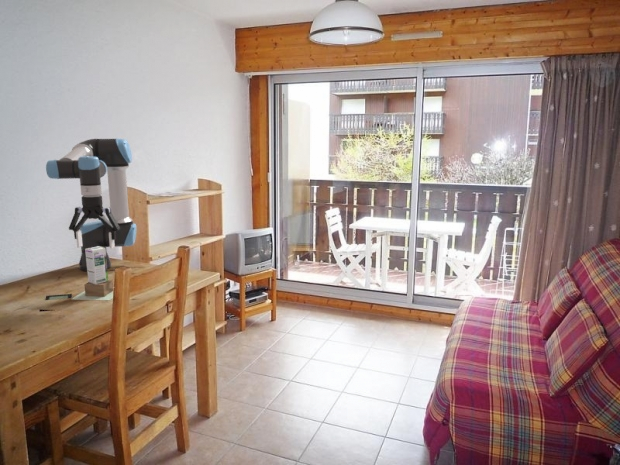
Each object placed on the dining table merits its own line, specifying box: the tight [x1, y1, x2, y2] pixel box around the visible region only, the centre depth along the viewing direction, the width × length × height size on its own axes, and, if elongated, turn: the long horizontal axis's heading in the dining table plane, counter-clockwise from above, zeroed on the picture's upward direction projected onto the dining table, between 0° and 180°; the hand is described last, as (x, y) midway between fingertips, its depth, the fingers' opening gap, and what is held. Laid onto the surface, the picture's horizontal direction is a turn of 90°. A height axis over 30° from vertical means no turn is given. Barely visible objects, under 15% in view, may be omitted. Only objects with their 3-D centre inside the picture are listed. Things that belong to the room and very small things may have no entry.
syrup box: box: [85, 246, 109, 284], centre depth 197 cm, size 6×6×14 cm
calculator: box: [38, 293, 73, 312], centre depth 189 cm, size 9×12×3 cm
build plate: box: [71, 290, 114, 301], centre depth 200 cm, size 16×16×2 cm
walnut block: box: [84, 278, 114, 297], centre depth 199 cm, size 8×8×5 cm
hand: (96, 247), depth 196 cm, fingers open, 13 cm apart
